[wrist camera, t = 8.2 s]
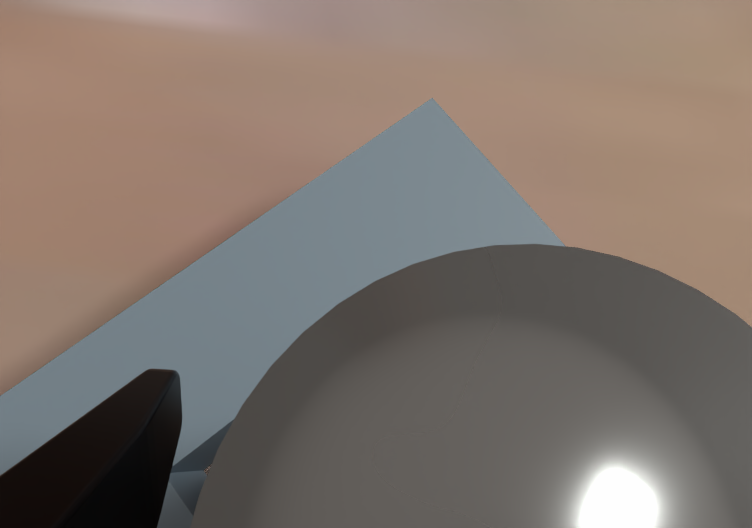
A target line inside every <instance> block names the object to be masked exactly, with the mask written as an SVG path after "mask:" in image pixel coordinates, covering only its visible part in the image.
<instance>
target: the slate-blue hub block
mask: <svg viewBox="0 0 752 528" xmlns="http://www.w3.org/2000/svg"><path fill="white" fill-rule="evenodd" d="M516 244H543V245H554V246H564V247H566V246H565V245H564V244H563V243H562V242H561V241H560V240H559V238H558V237H557V236H556V235H555V234H554V233H553V232H552V231H551V229H550V228H549V227H548V226H547V225H546V224H545V223H544V222H543V221H542V219H541V218H540V217H539V216H538V215H537V214H536V213H535V212H534V211H533V209H532V208H531V207H530V206H529V205H528V204H527V203H526V202H525V201H524V199H523V198H522V197H521V196H520V195H519V194H518V193H517V192H516V191H515V189H514V188H513V187H512V186H511V185H510V184H509V183H508V182H507V180H506V179H505V178H504V177H503V176H502V175H501V174H500V173H499V172H498V170H497V169H496V168H495V167H494V166H493V165H492V164H491V163H490V162H489V160H488V159H487V158H486V157H485V156H484V155H483V154H482V153H481V152H480V150H479V149H478V148H477V147H476V146H475V145H474V144H473V143H472V141H471V140H470V139H469V138H468V137H467V136H466V135H465V134H464V133H463V131H462V130H461V129H460V128H459V127H458V126H457V125H456V124H455V123H454V121H453V120H452V119H451V118H450V117H449V116H448V115H447V114H446V113H445V111H444V110H443V109H442V108H441V107H440V106H439V105H438V104H437V103H436V101H435V100H434V99H433V98H431V99H430V100H429V101H427V102H426V103H424V104H423V105H421V106H420V107H418V108H417V109H415V110H414V111H413V112H411V113H410V114H408V115H407V116H405V117H404V118H402V119H401V120H400V121H398V122H397V123H395V124H394V125H392V126H391V127H389V128H388V129H386V130H385V131H384V132H382V133H381V134H379V135H378V136H376V137H375V138H373V139H372V140H371V141H369V142H368V143H366V144H365V145H363V146H362V147H360V148H359V149H358V150H356V151H355V152H353V153H352V154H350V155H349V156H347V157H346V158H344V159H343V160H342V161H340V162H339V163H337V164H336V165H334V166H333V167H331V168H330V169H329V170H327V171H326V172H324V173H323V174H321V175H320V176H318V177H317V178H315V179H314V180H313V181H311V182H310V183H308V184H307V185H305V186H304V187H302V188H301V189H300V190H298V191H297V192H295V193H294V194H292V195H291V196H289V197H288V198H287V199H285V200H284V201H282V202H281V203H279V204H278V205H276V206H275V207H273V208H272V209H271V210H269V211H268V212H266V213H265V214H263V215H262V216H260V217H259V218H258V219H256V220H255V221H253V222H252V223H250V224H249V225H247V226H246V227H245V228H243V229H242V230H240V231H239V232H237V233H236V234H234V235H233V236H231V237H230V238H229V239H227V240H226V241H224V242H223V243H221V244H220V245H218V246H217V247H216V248H214V249H213V250H211V251H210V252H208V253H207V254H205V255H204V256H202V257H201V258H200V259H198V260H197V261H195V262H194V263H192V264H191V265H189V266H188V267H187V268H185V269H184V270H182V271H181V272H179V273H178V274H176V275H175V276H174V277H172V278H171V279H169V280H168V281H166V282H165V283H163V284H162V285H160V286H159V287H158V288H156V289H155V290H153V291H152V292H150V293H149V294H147V295H146V296H145V297H143V298H142V299H140V300H139V301H137V302H136V303H134V304H133V305H131V306H130V307H129V308H127V309H126V310H124V311H123V312H121V313H120V314H118V315H117V316H116V317H114V318H113V319H111V320H110V321H108V322H107V323H105V324H104V325H103V326H101V327H100V328H98V329H97V330H95V331H94V332H92V333H91V334H89V335H88V336H87V337H85V338H84V339H82V340H81V341H79V342H78V343H76V344H75V345H74V346H72V347H71V348H69V349H68V350H66V351H65V352H63V353H62V354H60V355H59V356H58V357H56V358H55V359H53V360H52V361H50V362H49V363H47V364H46V365H45V366H43V367H42V368H40V369H39V370H37V371H36V372H34V373H33V374H32V375H30V376H29V377H27V378H26V379H24V380H23V381H21V382H20V383H18V384H17V385H16V386H14V387H13V388H11V389H10V390H8V391H7V392H5V393H4V394H3V395H1V396H0V475H2V474H3V473H4V472H6V471H7V470H8V469H10V468H11V467H13V466H14V465H15V464H17V463H18V462H20V461H21V460H22V459H24V458H25V457H26V456H28V455H29V454H31V453H32V452H33V451H35V450H36V449H37V448H39V447H40V446H42V445H43V444H44V443H46V442H47V441H49V440H50V439H51V438H53V437H54V436H55V435H57V434H58V433H60V432H61V431H62V430H64V429H65V428H67V427H68V426H69V425H71V424H72V423H73V422H75V421H76V420H78V419H79V418H80V417H82V416H83V415H85V414H86V413H87V412H89V411H90V410H91V409H93V408H94V407H96V406H97V405H98V404H100V403H101V402H103V401H104V400H105V399H107V398H108V397H109V396H111V395H112V394H114V393H115V392H116V391H118V390H119V389H121V388H122V387H123V386H125V385H126V384H127V383H129V382H130V381H132V380H133V379H134V378H136V377H137V376H138V375H140V374H141V373H143V372H144V371H146V370H148V369H152V368H155V369H170V370H176V371H177V372H178V373H179V376H180V384H181V400H182V427H181V433H180V437H179V441H178V445H177V449H176V453H175V457H174V461H173V466H172V470H171V474H170V478H169V482H168V486H167V490H166V494H165V498H164V502H163V507H162V511H161V514H160V518H159V522H158V526H157V528H190V526H191V523H192V519H193V515H194V512H195V508H196V504H197V501H198V497H199V494H200V492H201V489H202V487H203V484H204V482H205V479H206V477H207V475H206V474H205V472H204V471H203V470H205V469H206V468H207V467H208V466H210V465H211V464H212V462H213V460H214V457H215V455H216V452H217V450H218V448H219V446H220V444H221V442H222V441H223V439H224V437H225V435H226V433H227V432H228V430H229V428H230V426H231V424H232V423H233V421H234V419H235V417H236V415H237V414H238V412H239V410H240V408H241V406H242V405H243V403H244V402H245V401H246V399H247V398H248V397H249V395H250V394H251V392H252V391H253V390H254V388H255V387H256V386H257V384H258V383H259V382H260V380H261V379H262V377H263V376H264V375H265V373H266V372H267V371H268V369H269V368H270V367H271V365H272V364H273V363H274V362H275V361H276V360H277V359H278V358H279V357H280V356H281V355H282V354H283V353H284V352H285V351H286V350H287V349H288V347H289V346H290V345H291V344H292V343H293V342H294V341H295V340H296V339H297V338H298V337H299V336H300V335H301V334H302V333H303V332H304V331H305V330H306V329H308V328H309V327H310V326H311V325H313V324H314V323H315V322H316V321H317V320H319V319H320V318H321V317H322V316H324V315H325V314H326V313H327V312H329V311H330V310H331V309H332V308H333V307H335V306H336V305H337V304H339V303H340V302H342V301H344V300H345V299H347V298H348V297H350V296H352V295H353V294H355V293H356V292H358V291H360V290H361V289H363V288H365V287H366V286H368V285H369V284H371V283H373V282H374V281H376V280H379V279H381V278H383V277H385V276H388V275H390V274H392V273H394V272H397V271H399V270H401V269H403V268H405V267H408V266H410V265H412V264H415V263H418V262H421V261H425V260H428V259H431V258H435V257H438V256H441V255H445V254H448V253H451V252H456V251H462V250H468V249H474V248H480V247H487V246H493V245H516Z"/></svg>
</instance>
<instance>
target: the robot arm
mask: <svg viewBox="0 0 752 528" xmlns="http://www.w3.org/2000/svg"><path fill="white" fill-rule="evenodd" d="M181 427H182V400H181V384H180V376H179V373H178V372H177V371H176V370H170V369H155V368H152V369H148V370H146V371H144V372H143V373H141V374H140V375H138V376H137V377H136V378H134V379H133V380H132V381H130V382H129V383H127V384H126V385H125V386H123V387H122V388H121V389H119V390H118V391H116V392H115V393H114V394H112V395H111V396H109V397H108V398H107V399H105V400H104V401H103V402H101V403H100V404H98V405H97V406H96V407H94V408H93V409H91V410H90V411H89V412H87V413H86V414H85V415H83V416H82V417H80V418H79V419H78V420H76V421H75V422H73V423H72V424H71V425H69V426H68V427H67V428H65V429H64V430H62V431H61V432H60V433H58V434H57V435H55V436H54V437H53V438H51V439H50V440H49V441H47V442H46V443H44V444H43V445H42V446H40V447H39V448H37V449H36V450H35V451H33V452H32V453H31V454H29V455H28V456H26V457H25V458H24V459H22V460H21V461H20V462H18V463H17V464H15V465H14V466H13V467H11V468H10V469H8V470H7V471H6V472H4V473H3V474H2V475H0V528H157V526H158V522H159V518H160V514H161V511H162V507H163V502H164V498H165V494H166V490H167V486H168V482H169V478H170V474H171V470H172V466H173V461H174V457H175V453H176V449H177V445H178V441H179V437H180V433H181Z"/></svg>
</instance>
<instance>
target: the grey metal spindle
mask: <svg viewBox="0 0 752 528" xmlns="http://www.w3.org/2000/svg"><path fill="white" fill-rule="evenodd" d="M190 528H752V327H751V326H750V325H748V324H747V323H746V322H745V321H743V320H742V319H741V318H740V317H738V316H737V315H736V314H735V313H733V312H731V311H730V310H728V309H727V308H725V307H724V306H722V305H721V304H719V303H717V302H716V301H714V300H713V299H711V298H710V297H708V296H706V295H705V294H703V293H702V292H700V291H699V290H697V289H695V288H693V287H691V286H689V285H687V284H685V283H682V282H680V281H678V280H676V279H674V278H672V277H670V276H668V275H666V274H664V273H662V272H660V271H658V270H655V269H652V268H649V267H646V266H643V265H641V264H638V263H635V262H632V261H629V260H626V259H623V258H621V257H617V256H613V255H608V254H604V253H599V252H595V251H590V250H585V249H581V248H575V247H564V246H554V245H543V244H516V245H493V246H487V247H480V248H474V249H468V250H462V251H456V252H451V253H448V254H445V255H441V256H438V257H435V258H431V259H428V260H425V261H421V262H418V263H415V264H412V265H410V266H408V267H405V268H403V269H401V270H399V271H397V272H394V273H392V274H390V275H388V276H385V277H383V278H381V279H379V280H376V281H374V282H373V283H371V284H369V285H368V286H366V287H365V288H363V289H361V290H360V291H358V292H356V293H355V294H353V295H352V296H350V297H348V298H347V299H345V300H344V301H342V302H340V303H339V304H337V305H336V306H335V307H333V308H332V309H331V310H330V311H329V312H327V313H326V314H325V315H324V316H322V317H321V318H320V319H319V320H317V321H316V322H315V323H314V324H313V325H311V326H310V327H309V328H308V329H306V330H305V331H304V332H303V333H302V334H301V335H300V336H299V337H298V338H297V339H296V340H295V341H294V342H293V343H292V344H291V345H290V346H289V347H288V349H287V350H286V351H285V352H284V353H283V354H282V355H281V356H280V357H279V358H278V359H277V360H276V361H275V362H274V363H273V364H272V365H271V367H270V368H269V369H268V371H267V372H266V373H265V375H264V376H263V377H262V379H261V380H260V382H259V383H258V384H257V386H256V387H255V388H254V390H253V391H252V392H251V394H250V395H249V397H248V398H247V399H246V401H245V402H244V403H243V405H242V406H241V408H240V410H239V412H238V414H237V415H236V417H235V419H234V421H233V423H232V424H231V426H230V428H229V430H228V432H227V433H226V435H225V437H224V439H223V441H222V442H221V444H220V446H219V448H218V450H217V452H216V455H215V457H214V460H213V462H212V465H211V467H210V470H209V472H208V475H207V477H206V479H205V482H204V484H203V487H202V489H201V492H200V494H199V497H198V501H197V504H196V508H195V512H194V515H193V519H192V523H191V526H190Z"/></svg>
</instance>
